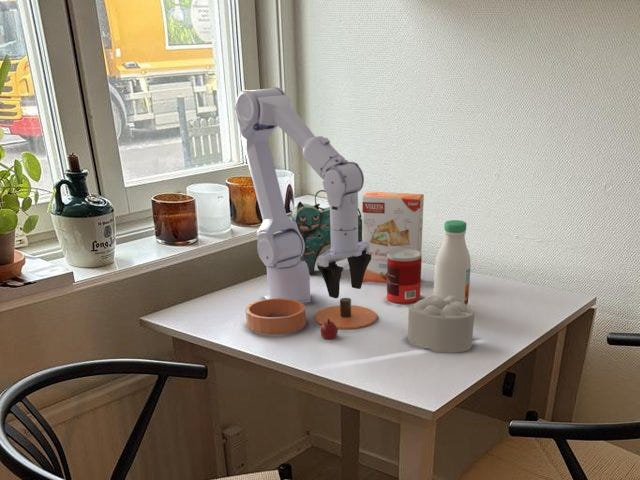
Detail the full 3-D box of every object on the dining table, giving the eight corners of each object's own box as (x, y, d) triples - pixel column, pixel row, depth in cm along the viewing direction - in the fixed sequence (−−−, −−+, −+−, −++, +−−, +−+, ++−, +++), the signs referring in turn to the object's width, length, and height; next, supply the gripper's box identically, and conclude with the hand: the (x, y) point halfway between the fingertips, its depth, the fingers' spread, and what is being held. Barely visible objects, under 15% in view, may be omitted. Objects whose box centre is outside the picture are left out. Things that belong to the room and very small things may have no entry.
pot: (296, 312, 165) (295, 295, 163) (313, 331, 155) (312, 313, 153) (241, 320, 161) (239, 302, 159) (255, 340, 151) (254, 321, 149)
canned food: (424, 297, 173) (426, 250, 167) (412, 308, 167) (413, 260, 161) (394, 293, 176) (395, 247, 170) (381, 303, 170) (382, 256, 164)
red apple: (334, 334, 154) (333, 314, 151) (340, 341, 151) (339, 320, 148) (318, 337, 152) (317, 317, 150) (324, 344, 150) (322, 323, 147)
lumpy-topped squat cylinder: (429, 327, 157) (431, 287, 152) (482, 341, 150) (486, 300, 145) (401, 342, 150) (402, 301, 146) (455, 357, 143) (458, 315, 139)
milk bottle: (457, 322, 159) (464, 228, 149) (426, 316, 163) (430, 223, 152) (472, 312, 165) (480, 220, 154) (441, 306, 168) (447, 216, 157)
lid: (363, 306, 168) (363, 286, 166) (386, 326, 158) (386, 305, 155) (306, 314, 164) (305, 293, 162) (326, 335, 153) (326, 313, 151)
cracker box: (361, 283, 182) (361, 195, 171) (366, 276, 187) (366, 190, 176) (417, 287, 180) (420, 198, 168) (420, 280, 184) (424, 192, 173)
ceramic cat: (299, 277, 187) (295, 194, 176) (290, 270, 192) (286, 189, 181) (369, 267, 194) (370, 187, 183) (359, 261, 199) (359, 182, 188)
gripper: (336, 237, 143) (337, 305, 150) (381, 223, 153) (380, 287, 160) (309, 232, 147) (312, 298, 154) (354, 218, 156) (355, 281, 164)
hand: (345, 292), depth 157 cm, fingers open, 7 cm apart
